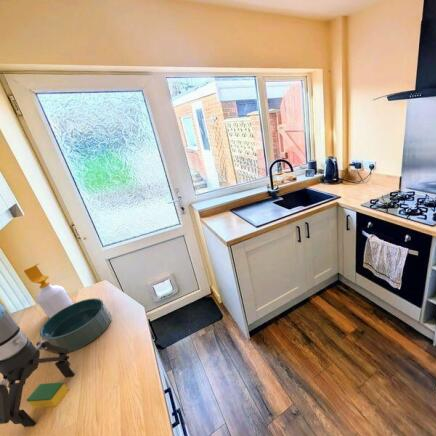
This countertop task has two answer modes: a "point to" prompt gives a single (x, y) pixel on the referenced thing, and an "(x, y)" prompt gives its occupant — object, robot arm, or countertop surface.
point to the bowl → (76, 324)
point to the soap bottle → (48, 292)
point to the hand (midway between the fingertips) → (51, 398)
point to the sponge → (47, 395)
